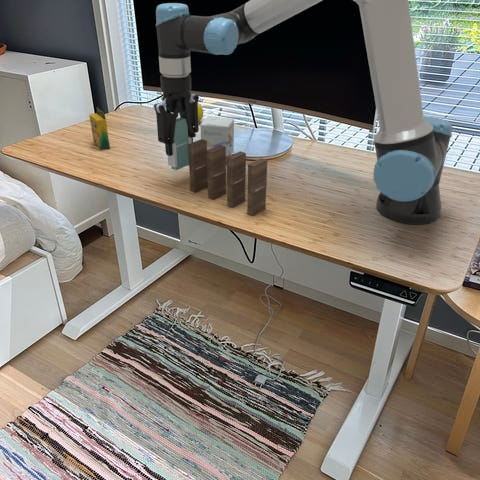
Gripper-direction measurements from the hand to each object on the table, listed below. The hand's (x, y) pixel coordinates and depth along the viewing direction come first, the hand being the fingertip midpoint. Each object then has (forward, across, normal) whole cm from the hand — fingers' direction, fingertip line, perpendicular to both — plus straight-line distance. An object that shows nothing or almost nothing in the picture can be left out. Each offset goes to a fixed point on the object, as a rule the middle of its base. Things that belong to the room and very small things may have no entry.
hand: (180, 162), depth 131 cm
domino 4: (+5, 0, +20) cm, 21 cm away
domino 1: (+1, 0, 0) cm, 1 cm away
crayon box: (+6, -2, -39) cm, 39 cm away
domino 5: (+5, 0, +26) cm, 27 cm away
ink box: (+6, -19, -4) cm, 20 cm away
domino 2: (+6, 0, +7) cm, 9 cm away
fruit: (+6, -38, -32) cm, 50 cm away
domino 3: (+6, 0, +13) cm, 14 cm away
